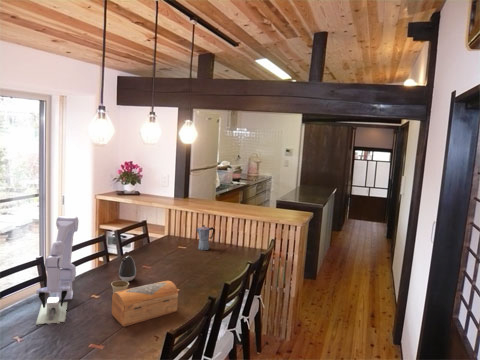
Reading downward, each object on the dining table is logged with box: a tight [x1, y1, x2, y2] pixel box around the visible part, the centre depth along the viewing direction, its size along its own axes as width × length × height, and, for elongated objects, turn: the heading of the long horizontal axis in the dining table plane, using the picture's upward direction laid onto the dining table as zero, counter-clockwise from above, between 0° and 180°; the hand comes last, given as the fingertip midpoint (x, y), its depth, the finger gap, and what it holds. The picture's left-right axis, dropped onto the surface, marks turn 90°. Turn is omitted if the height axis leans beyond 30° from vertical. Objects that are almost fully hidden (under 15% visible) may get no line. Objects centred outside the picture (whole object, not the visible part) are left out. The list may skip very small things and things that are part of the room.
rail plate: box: [35, 301, 68, 325], centre depth 182 cm, size 20×12×3 cm, turn 21°
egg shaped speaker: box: [118, 255, 137, 282], centre depth 229 cm, size 10×10×15 cm
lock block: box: [46, 296, 60, 315], centre depth 182 cm, size 6×5×6 cm
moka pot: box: [195, 224, 215, 251], centre depth 303 cm, size 10×15×20 cm, turn 107°
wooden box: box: [111, 280, 180, 328], centre depth 190 cm, size 30×16×14 cm, turn 130°
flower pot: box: [110, 280, 130, 293], centre depth 203 cm, size 9×9×9 cm
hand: (53, 306), depth 182 cm, fingers open, 7 cm apart
